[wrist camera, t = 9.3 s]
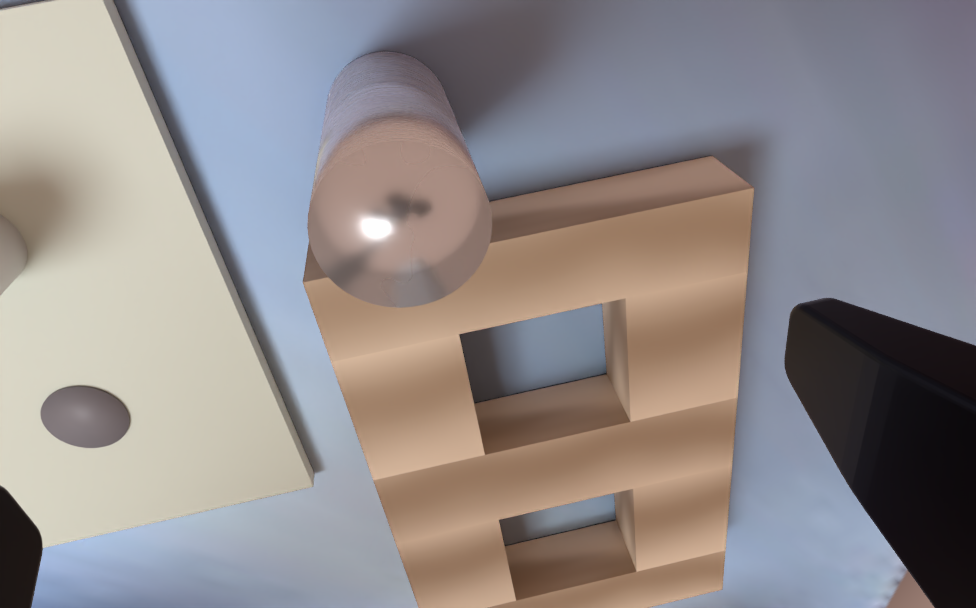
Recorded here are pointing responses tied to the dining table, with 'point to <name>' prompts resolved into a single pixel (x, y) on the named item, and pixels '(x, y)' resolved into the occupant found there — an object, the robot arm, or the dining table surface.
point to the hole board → (563, 397)
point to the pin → (395, 187)
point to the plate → (117, 300)
